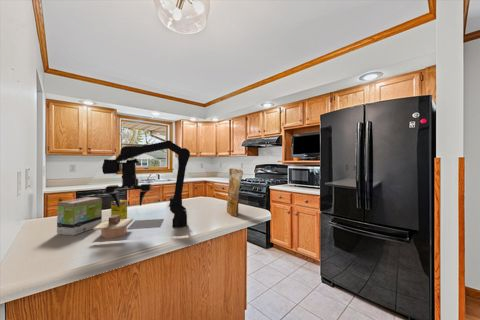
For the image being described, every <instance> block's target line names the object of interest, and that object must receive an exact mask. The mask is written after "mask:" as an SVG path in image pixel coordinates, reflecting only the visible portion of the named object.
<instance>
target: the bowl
mask: <svg viewBox="0 0 480 320" xmlns="http://www.w3.org/2000/svg"><path fill="white" fill-rule="evenodd" d="M100 231H101V234H100V236H101V238H104V239H112V238H118V237H120V236H121V237H122V236H124V235H125V234H126V233H127V231H128V226H127V227H126V228H120V229H105V230H100Z"/></svg>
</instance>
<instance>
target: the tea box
mask: <svg viewBox="0 0 480 320" xmlns="http://www.w3.org/2000/svg"><path fill="white" fill-rule="evenodd" d="M102 206H103V198H102V197H90V196H86V197H81V198H75V199H70V200H64V201H59V202H57V213H56V215H57V217H56V234H57V235H65V236H76V235H78V234H81V233H83V232H84V233H85V232H87V231H89V230H90V231H91V230H92V229H93V228H94V227H96V226H97V225H99V224H100V223H102V222H103V221H102V218H103V216H102V215H103V214H102V212H103V211H102V209H103V207H102Z"/></svg>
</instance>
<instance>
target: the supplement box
mask: <svg viewBox="0 0 480 320" xmlns="http://www.w3.org/2000/svg"><path fill="white" fill-rule="evenodd" d="M110 215H111V216H112V215H120V219H128V200H127V199H123V200H122V199H120V207H118V206H117V204H116V202H115V200H114V201H110ZM111 216H110V217H111Z"/></svg>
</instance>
